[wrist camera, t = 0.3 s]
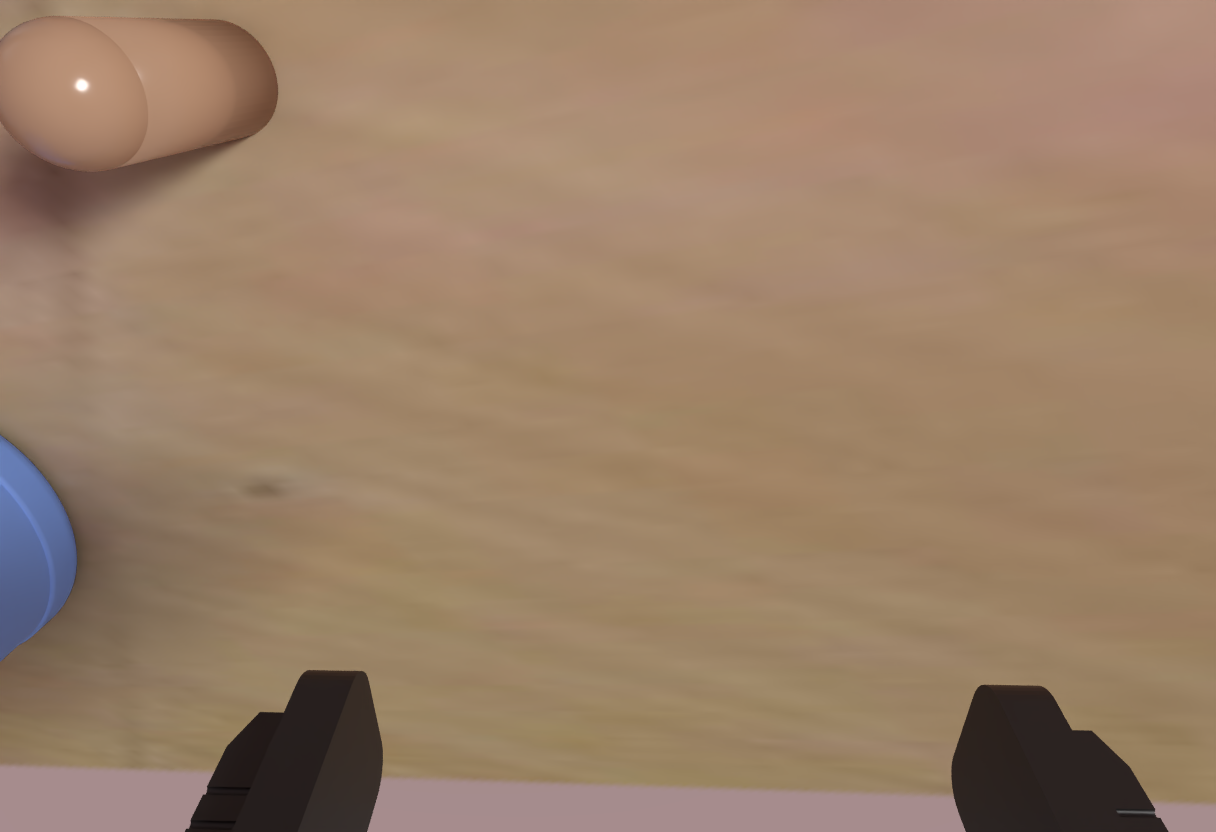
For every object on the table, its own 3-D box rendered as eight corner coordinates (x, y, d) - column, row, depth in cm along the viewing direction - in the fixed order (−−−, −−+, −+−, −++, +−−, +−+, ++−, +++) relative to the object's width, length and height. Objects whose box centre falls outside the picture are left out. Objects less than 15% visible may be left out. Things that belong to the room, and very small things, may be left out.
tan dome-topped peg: (162, 15, 33) (-73, 8, 23) (271, 24, 33) (83, 21, 23) (179, 133, 35) (-30, 175, 25) (283, 143, 35) (114, 189, 25)
